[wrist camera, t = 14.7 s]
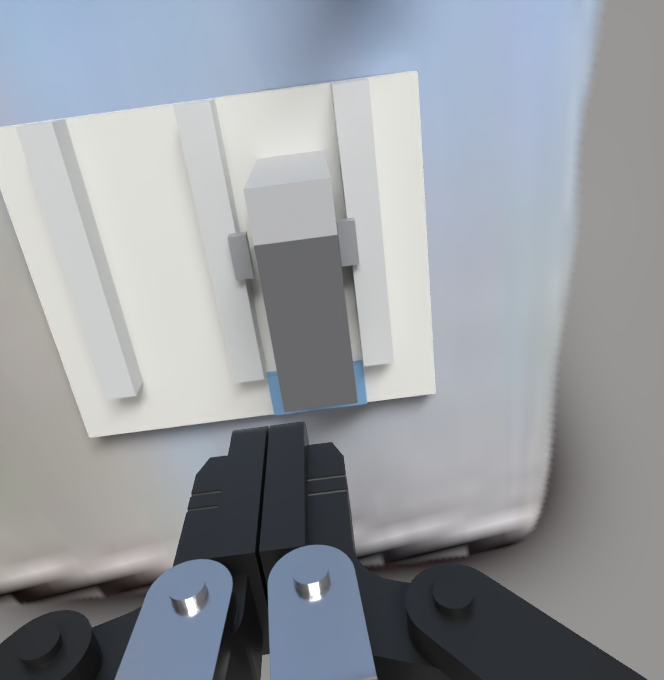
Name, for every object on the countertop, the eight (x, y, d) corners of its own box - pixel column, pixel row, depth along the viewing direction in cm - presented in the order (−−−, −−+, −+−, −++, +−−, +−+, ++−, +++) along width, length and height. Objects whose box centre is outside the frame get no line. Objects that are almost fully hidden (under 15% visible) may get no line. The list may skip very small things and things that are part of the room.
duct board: (97, 422, 34) (76, 461, 30) (-5, 127, 27) (-47, 136, 24) (430, 379, 33) (444, 414, 30) (411, 70, 27) (426, 72, 23)
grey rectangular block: (288, 339, 30) (284, 412, 24) (257, 158, 27) (243, 189, 20) (346, 331, 30) (357, 403, 24) (324, 149, 27) (330, 177, 20)
